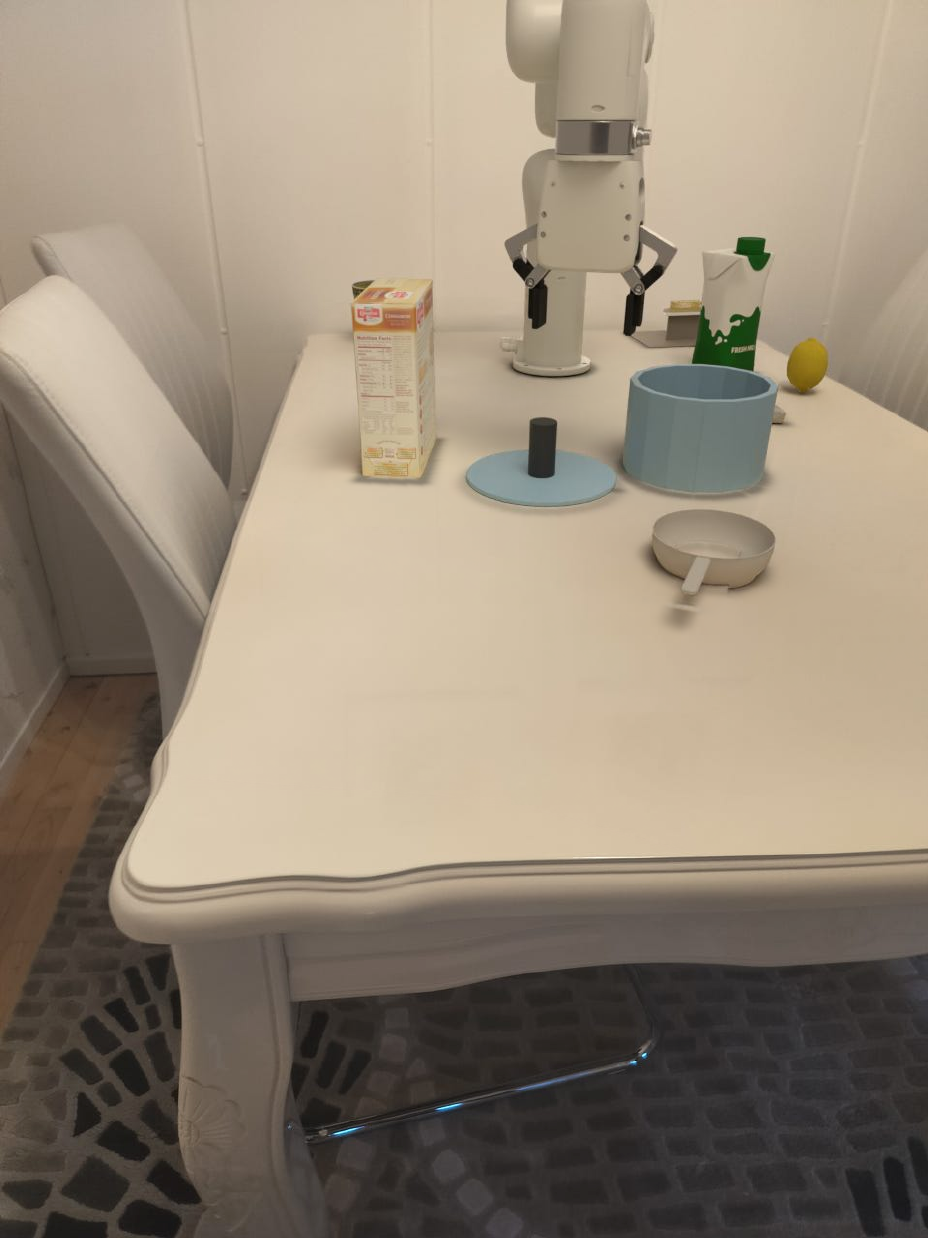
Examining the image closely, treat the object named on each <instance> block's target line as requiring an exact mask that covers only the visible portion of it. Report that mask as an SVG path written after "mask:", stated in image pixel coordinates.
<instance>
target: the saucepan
mask: <svg viewBox="0 0 928 1238" xmlns="http://www.w3.org/2000/svg"><path fill="white" fill-rule="evenodd" d="M651 543H652V549H653V552H654V555H655V557H656V559H657V560H658V562H659V564H660V565H661V567H663V568H664V570H666V571H667V572H668V573H670V574H672V575H674V576H676V577H677V578H680V579H683V580H684V581H683V583H682V585H681V586H680V591H681V593H682V594H685V595H689V596H694V595H696V594H698V592H699V590H700V587H701V585H702V584H705V585H713V586H714V585H715V586H728V587H727V589H735V588H741V587H743V586H746V585H749V584H750V583H752V582H753V581H754V580H755V579H756V577H757V576H758V575H759V574H760V573H762V572H763V571H764V569H765V568H766V567H767V566H768V565H769V563H770V561H771V560H772V557H773V554H774V552H775V546H776V544H777V536H776V533H775V532H774V531H773V530H772V529H771V528H770V527H768V525H766V524H764V523H763V522H761V521H759V520H757V519H754V518H753V517H749V516H748V515H747V516H746V515H743V514H741V513H740V514H739V513H735V512H733V511H726V510H718V509H710V508H709V509H708V508H707V509H706V508H692V509H682V510H677V511H672V512H668V513H666V514H664V515H661V516H659V518H657V519H656V520H655V521H654V522H653V524H652V531H651ZM689 543H706V544H707V543H709V544H716V545H722V546H727V547H730V548H733V549H735V550H739V551H740V552H739V556H738V557H715V556H714V557H712V556H705V555H699V554H694V553H691V552H688V551H684V550H682V549H678V548H676V547H674V546H678V545H683V544H689Z"/></svg>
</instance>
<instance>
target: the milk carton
mask: <svg viewBox="0 0 928 1238" xmlns="http://www.w3.org/2000/svg"><path fill="white" fill-rule="evenodd" d="M766 242H767V239H766V238H765V237H760V236H740V237H738V238H737V242H736V247H729V248H722V249H713V250H712V249H711V250H703V251H701V256H702V268H703V284H702V285H703V286H702V294H701V300H700V302H701V304H700V306H701V309H700V317H699V325H698V332H697V339H696V344H695V346H694V348H693V353H692V358H691V362H690V364H706V365H717V366H728V367H733V368H738V369H743V370H748V371H753V372H755V371H754V370H755V360H756V349H757V340H758V334H759V327H760V321H761V316H762V309H763V302H764V296H765V289H766V283H767V281H768V277H769V274H770V272H771V268H772V266H773V263H774V260H775V257H776V253H775V252H771V251H765V247H766Z"/></svg>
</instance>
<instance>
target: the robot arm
mask: <svg viewBox="0 0 928 1238" xmlns="http://www.w3.org/2000/svg"><path fill="white" fill-rule="evenodd" d="M654 42H655V17H654V13H653V12H652V11H650V7H649V4H648V2H647V0H506V4H505V52H506V58H507V63H508V65H509V68H510V70H511V72H512V73H513V75H514V76H515V77H516V78H517V79H519V80H520V81H522V82H525V83H528V84H534V119H535V124H536V128H537V130H538V131H539V132H540V134H541V135H542V136H544V137H546V138H550V139H555V143H554V144H555V146H554V148H547V149H543V150H540V151H537V152H534V153H533V154H532V155H531V156H529V157H528V158H527V160H526V162H525V164H524V166H523V169H522V174H521V189H522V190H521V191H522V199H523V209H524V222H525V229H524V230H522V231H520V232H518V233H516V234H514V235H513V236H511V237H509V238H507V239H506V240H505V241H504V249H505V251H506V253H507V255H508V258H509V260H510V261H511V264H512V268H513V270H514V272H515V273H516V274H517V275H518V276H519V278H521V280H522V281H523V282H524V302H523V303H524V305H523V335H522V336H519V337H518V338H513V337H506V336H505V337H504V336H502V337H501V338H500V340H499V348H500V350H501V351H502V352H506V353H510V352H512V353H515V355H516V356H515V357H514V358H513V360H512V367H513V368H514V370H516V371H518V372H521V373H523V374H527V375H533V376H540V377H569V376H575V375H576V376H577V375H580V374H583V373H586V372H588V371H590V369H591V364H592V363H591V362H592V361H591V360H590V358H588V357H587V356H585V355H582V354H583V339H584V338H583V337H584V323H585V307H586V305H585V304H586V291H587V290H586V289H587V275H588V274H587V273H597V274H620V275H621V276H622V278H623V279H624V282H626V284H627V285H628V287H629V293H628V294H627V295H626V297H625V307H624V320H623V331H622V334H623V335H624V336H625V337H632V336H631V335H632V334H633V333H636V331H637V328H638V327H639V328H641V326H642V324H643V317H644V305H645V295H646V291H647V290H648V289H650V288H651V286H652V285H654V284H655V283H656V282H657V281H658V280H659V279H660V278H661V277H662V276H664V275H665V273H666V271H667V269H668V267H669V266H670V264H671V263H672V261H673V259H674V258H675V256H676V255H677V254H678V246H677V245H676V244H675V243H673V242H671V241H669V240H668V239H667V238H665V237H663V236H661V235H660V234H658V233H657V232H655V230H652V229H650V228H649V227H648V226H646V225H645V217H646V184H645V182H646V181H645V168H644V162H645V152H646V146H651V145H652V141H653V130H652V129H650V128H649V129H648V125H649V124H648V123H649V116H650V115H649V113H650V98H651V96H650V93H651V91H650V81H649V76H648V73H647V71H646V69H645V65H646V64H649V62H650V61H651V57H652V53H653V45H654ZM644 245H645V246H646V247H647V248H649V249H651V250H653V251H654V252H655V253H656V254H657V258H656V260H655V263H654V264H653V266H652V267H651V268H650V269H649V270H648V271H647V272H646V273H644V271H643V270H642V269H641V267H640V266H639V264H640V263H641V260H642V257H643V252H644ZM524 247H525V252H524Z"/></svg>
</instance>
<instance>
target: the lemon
mask: <svg viewBox="0 0 928 1238" xmlns="http://www.w3.org/2000/svg"><path fill="white" fill-rule="evenodd" d="M828 363H829V356H828V351H827V348H826V347H825V346H824V344H823V343H821V342H820V341H819V340H817V339H816V337H808V339H805V340H803V341H801V342H799V343H798V344H797V345H795V346H794V348H793V349H792V350H791V353H790V355H789V357H788V360H787V362H786V376H787V380H788V381H789V383H790V384H791V386H793V387H795V388H796V389H797V390H798V391H799V393H802V394H804V393H805V392H807V391H809V390H810V389H813V388H815V387H817V386H818V385H819V384H820V383H821V382H822V381H823V380H824V378H825V376H826V373H827V371H828V365H829V364H828Z"/></svg>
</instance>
